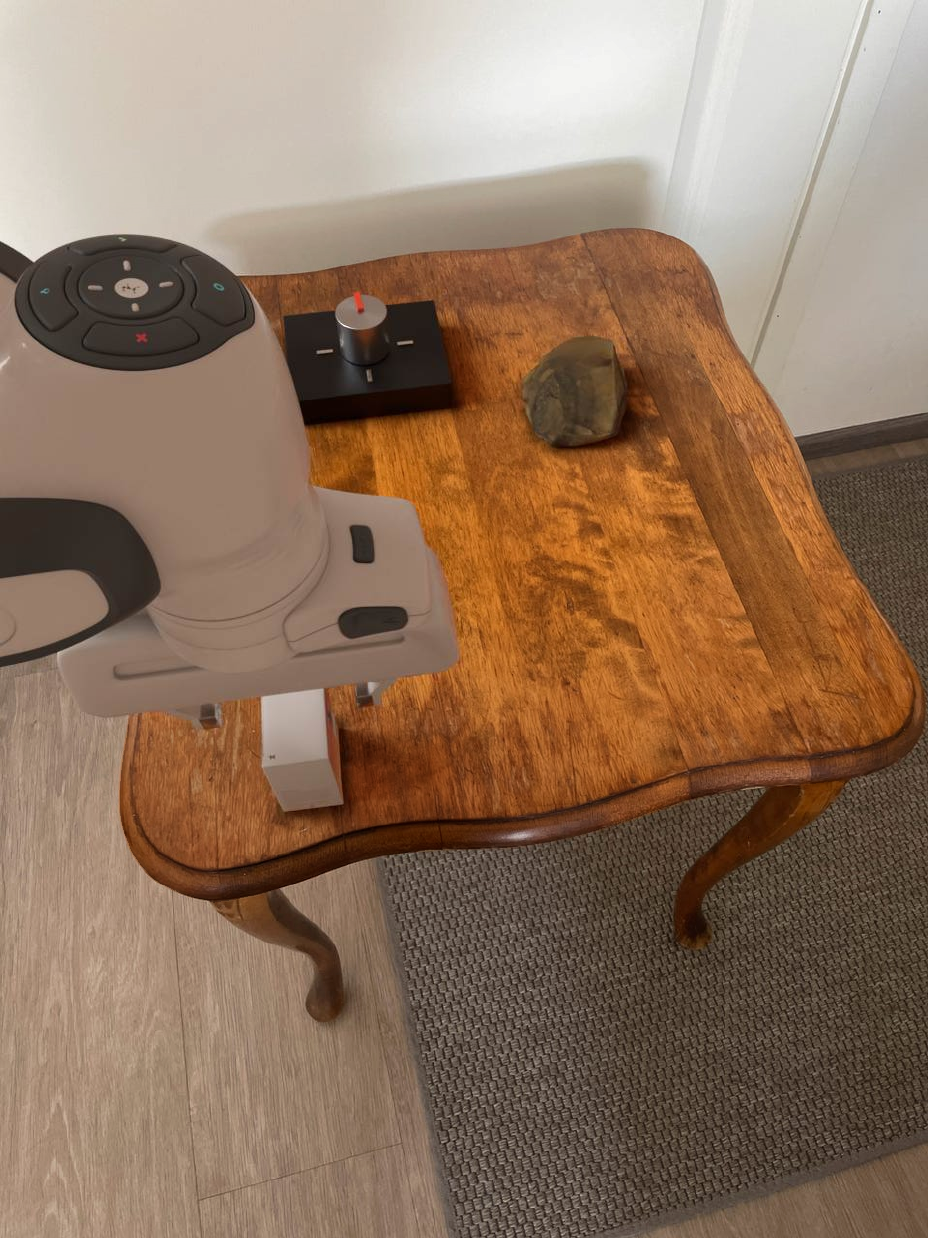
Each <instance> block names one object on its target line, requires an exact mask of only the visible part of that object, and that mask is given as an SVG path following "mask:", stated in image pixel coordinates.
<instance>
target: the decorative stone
mask: <svg viewBox="0 0 928 1238" xmlns="http://www.w3.org/2000/svg"><path fill="white" fill-rule="evenodd" d="M616 350H617V349H616V346H615V345H614V341H613V340H612V339H608V338H604V337H601V336H597V335H583V336H575V337H573V338H571V339H568V340H565V341H564V342H562V343H560V344H558V346H556V347H554V348H552V350H551V351H550V352H548V353H546V354H543V355H542V356H541V357H540V358H539V362H538V363H537V364H536V365H535V366H534V367H533V368H532V369H531V370H529V371H528V372H527V373H526V374H525V375H524V377H523V378H522V380H521V387H522V390H521V392H522V398H523V399H522V400H523V402H524V406H525V414H526V416H527V418H528V421H529V423H530V425H531V428H532V429H533V433H534V435H535V436H536V437H538V438H540V439H543V441H544V442H545V443H547V444H548V445H549V446H552V447H554V448H559V447H560V448H561V447H570V448H571V447H577V446H583V445H588V444H592V443H597V442H600V441H604V440H607V439H610V438H614V437H616V436H618V435H619V433H620V432H621V429H622V420H623V417H624V415H625V413H626V410H627V392H628V382H627V381H628V380H627V376H626V374H625V370H624V365H622V363H621V361H620V360H619V358H618V355H617V351H616Z"/></svg>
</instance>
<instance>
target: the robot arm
mask: <svg viewBox="0 0 928 1238" xmlns="http://www.w3.org/2000/svg"><path fill="white" fill-rule="evenodd" d="M311 456H312V455H311V450H310V443H309V439H308V435H307V431H306V425H304V421H303V417H302V413H301V409H300V405H299V401H298V397H297V394H296V391H295V387H294V384H293V380H292V377H291V374H290V371H289V368H288V365H287V359H286V356H285V354H284V352H283V349H282V347H281V344H280V342H279V339H278V337H277V335H276V333H275V331H274V329H273V326H272V324H271V322H270V320H269V318H268V316H267V314H266V313H265V311H264V309H263V308H262V306H261V305H260V303H259V302H258V300H257V299H256V297H255V295H254V294H253V293H252V292H251V290H250V289H249V288H248V287H247V286H246V284H245V283H244V282H243V281H242V280H241V279H240V278H239V277H238V276H237V275H236V274H235V273H234V272H233V271H231V270H230V269H229V268H228V267H227V266H226V265H224V264H222V263H221V262H220V261H218V260H217V259H215V258H214V257H212V256H210V255H208V254H207V253H206V252H203V251H201V250H199V249H198V248H196V247H193V246H190V245H187V244H185V243H183V242H179V241H176V240H172V239H168V238H164V237H158V236H154V235H153V236H152V235H147V234H146V235H145V234H131V233H119V234H116V233H115V234H103V235H95V236H92V237H86V238H85V237H84V238H81V239H77V240H74V241H71V242H68V243H65V244H63V245H60V246H58V247H56V248H54V249H52V250H50V251H48V252H47V253H45V254H43V255H42V256H40V257H39V258H37V259H36V260H35V261H33V260H32V259H31V258H29V257H28V256H26V255H24V254H23V253H22V252H21V251H19V250H17V249H15V248H14V247H12V246H10V245H9V244H7V243H5V242H3V241H1V240H0V668H3V667H8V666H14V665H20V664H24V663H28V662H32V661H35V660H39V659H42V658H45V657H48V656H51V655H54V654H56V664H57V667H58V672H59V674H60V677H61V679H62V681H63V684H64V685H65V688H66V690H67V691H68V693H69V695H70V697H71V699H72V700H73V701H74V704H75V705H76V706H77V708H78V709H79V710H80V711H81V712H83V713H86V714H88V715H91V716H95V717H98V718H104V719H109V718H110V719H111V718H118V717H124V716H131V715H137V714H138V715H139V714H146V713H155V712H161V713H164V714H166V715H169V716H173V717H176V718H178V719H181V720H185V721H190V723H191V725H192V726H193V728H194V729H195V731H196V732H199V731H204V730H205V731H206V730H211V729H217V728H222V727H223V718H222V716H221V715H222V714H223V705H222V703H227V702H234V701H242V700H249V699H256V698H261V697H265V696H272V695H279V694H286V693H294V692H301V691H308V690H316V689H323V688H327V689H329V688H330V689H331V688H337V687H344V686H351V685H352V686H353V685H354V696H355V702H356V704H357V705H356V706H357V708H358V709H363V708H370V707H378V706H383V697H382V694H384V693H385V692H386V691H387V690H388V689H389V688H391V686H392V685H394V684H395V683H396V682H397V681H398V679H402V678H411V677H418V676H425V675H426V676H427V675H433V674H434V675H435V674H440V673H444V672H447V671H448V670H449V669H451V668H453V667H454V666H455V665H456V664H457V663H459V662H460V658H461V652H460V647H459V639H458V633H457V626H456V619H455V615H454V611H453V604H452V599H451V595H450V589H449V584H448V581H447V578H446V575H445V571H444V569H443V566H442V563H441V562H440V561H441V560H440V559H439V557H438V555H437V554H436V552H435V551H434V550H433V548H431V546H429V545H428V544H427V543H426V538H425V536H424V531H423V528H422V525H421V521H420V518H419V514H418V511H417V510H416V506H415V505H414V503H413V502H412V501H410V500H408V499H405V498H401V497H395V496H385V495H374V494H363V493H356V492H350V491H349V492H348V491H342V490H336V489H331V488H326V487H320V486H317V485H313V484H312V483H311V482H310V476H311V467H312V466H311V465H312V463H311V462H312V461H311V458H312V457H311Z"/></svg>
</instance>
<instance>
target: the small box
mask: <svg viewBox="0 0 928 1238" xmlns="http://www.w3.org/2000/svg"><path fill="white" fill-rule="evenodd" d="M260 705H261V706H260V707H261V709H260V710H261V714H260V715H261V769H262V772H263V773H264V775H265V777H266V779H267V781H268V783H269V785H270V787H271V789H272V790H271V791H272V792H273V793H274V795H275V798H276V800H277V801H278V803H279V805H280V807H281V810H282V811H283V812H284V813H285V812H294V811H301V810H310V809H317V808H325V807H331V806H333V807H334V806H341V805H344V801H345V800H344V793H343V783H342V769H341V751H340V737H339V736H340V735H339V726H338V723H337V721H336V717H335V713H334V708H333V705H332V702H331V698H330V695H329V690H328V688H323V689H316V690H308V691H301V692H294V693H286V694H279V695H272V696H265V697H260Z"/></svg>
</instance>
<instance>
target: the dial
mask: <svg viewBox="0 0 928 1238" xmlns="http://www.w3.org/2000/svg"><path fill="white" fill-rule="evenodd" d="M385 305H386V304H385V303H384V301H382V300H381V299H379V298H378V297H376V296H373V295H369V294H361V292H360V291H358V292H353V295H352V296H349V297H346V298H345V299H343V300H341V302H340V303H339V304H338V305H337V306H336V309H335V310H336V312H335V315H336V322H337V329H338V336H339V343H340V349H341V353H342V355H343V356H344V358H345V359H346V360H348V361H349V362H351V363H354V364H358V365H370V364H374V363H377V362H379V361H381V360H382V359H384V358H385V357H386V355H387V354H388V352H389V349H390V342H389V330H388V319H387V309H386V306H385Z"/></svg>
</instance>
